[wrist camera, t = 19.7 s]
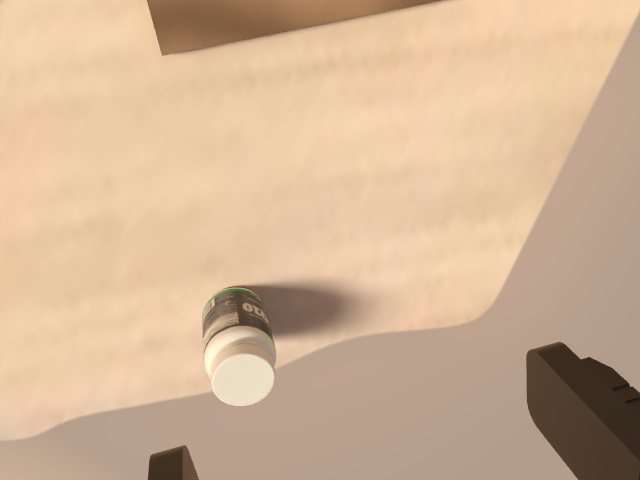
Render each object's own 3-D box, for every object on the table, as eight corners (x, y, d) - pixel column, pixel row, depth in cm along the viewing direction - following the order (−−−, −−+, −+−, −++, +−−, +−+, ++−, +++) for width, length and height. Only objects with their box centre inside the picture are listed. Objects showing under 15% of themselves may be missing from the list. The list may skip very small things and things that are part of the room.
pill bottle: (275, 323, 45) (293, 392, 37) (218, 348, 44) (225, 423, 37) (249, 274, 42) (263, 337, 35) (190, 301, 42) (191, 370, 35)
